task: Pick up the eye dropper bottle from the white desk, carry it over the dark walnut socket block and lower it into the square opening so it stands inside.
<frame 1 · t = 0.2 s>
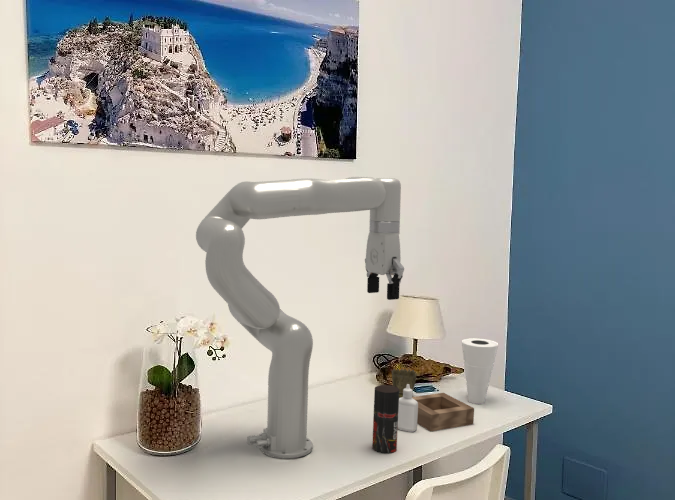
hand: (382, 295, 168), 36 cm above the table, tool pointing down, fingers open, 9 cm apart
cup 2: (402, 398, 202), on the table
socket: (436, 419, 184), on the table
deodorant: (384, 449, 163), on the table
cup: (476, 401, 200), on the table
eye dropper bottle: (406, 429, 176), on the table
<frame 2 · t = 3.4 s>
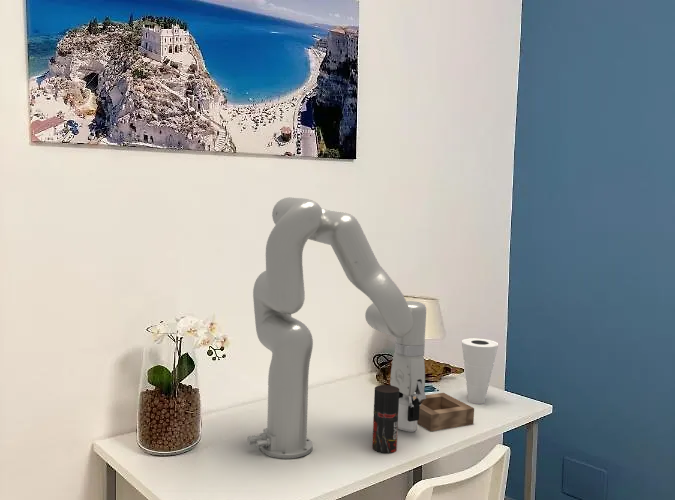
hand: (406, 415, 176), 4 cm above the table, tool pointing down, fingers closed on eye dropper bottle, 5 cm apart
eye dropper bottle: (406, 429, 176), on the table, touching gripper
everything else where it was.
when the fingers open (6 cm above the table, at t = 7.8 s): eye dropper bottle drops 1 cm, resting on socket.
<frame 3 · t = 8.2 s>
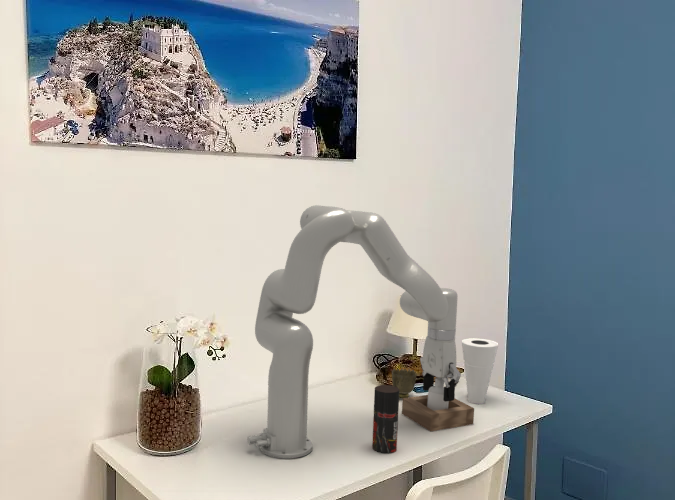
hand: (438, 395, 184), 7 cm above the table, tool pointing down, fingers open, 9 cm apart
eye dropper bottle: (436, 416, 184), point 1 cm above the table, touching socket
everything else where it was.
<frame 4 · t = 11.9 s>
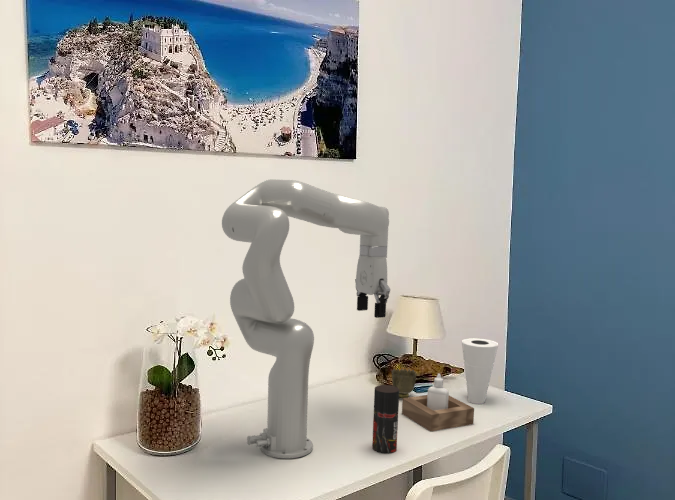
hand: (370, 313, 184), 28 cm above the table, tool pointing down, fingers open, 9 cm apart
nothing on the table moved.
at the end: eye dropper bottle inside the target area on the socket (0.3 cm from its centre), point 0.6 cm above the socket's base; eye dropper bottle tilted 0°; the gripper is holding nothing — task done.
